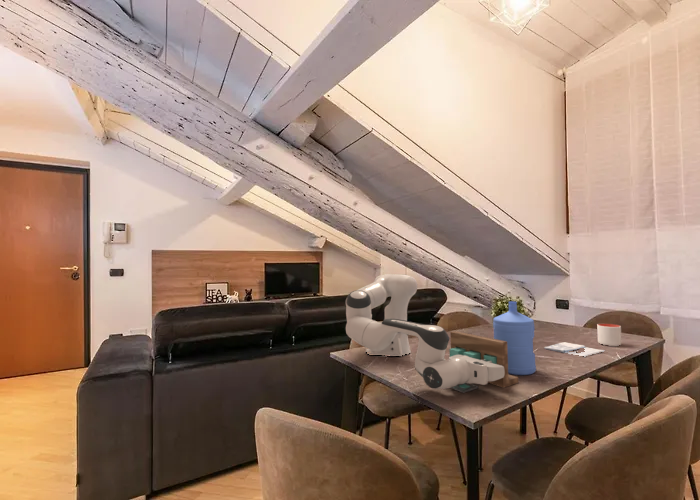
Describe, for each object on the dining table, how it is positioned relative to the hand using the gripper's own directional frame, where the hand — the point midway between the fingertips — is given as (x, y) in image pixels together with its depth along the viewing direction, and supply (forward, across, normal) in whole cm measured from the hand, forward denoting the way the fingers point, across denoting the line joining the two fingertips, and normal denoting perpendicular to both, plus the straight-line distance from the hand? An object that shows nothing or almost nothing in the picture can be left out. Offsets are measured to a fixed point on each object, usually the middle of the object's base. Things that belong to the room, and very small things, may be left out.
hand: (489, 362), depth 134 cm
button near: (+4, 0, -2) cm, 4 cm away
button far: (0, -14, -2) cm, 14 cm away
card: (-10, -7, -8) cm, 15 cm away
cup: (+100, -2, -8) cm, 100 cm away
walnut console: (+5, -7, -8) cm, 12 cm away
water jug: (+23, -5, -8) cm, 25 cm away
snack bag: (+74, -6, -9) cm, 75 cm away
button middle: (0, -7, -2) cm, 7 cm away
